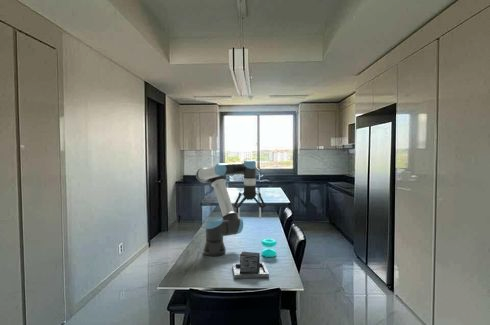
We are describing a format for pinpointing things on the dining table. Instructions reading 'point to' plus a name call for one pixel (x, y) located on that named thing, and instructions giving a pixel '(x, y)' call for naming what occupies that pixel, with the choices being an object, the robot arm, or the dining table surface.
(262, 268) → the tray
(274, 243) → the donuts
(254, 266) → the small box
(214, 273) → the dining table surface
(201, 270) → the dining table surface
